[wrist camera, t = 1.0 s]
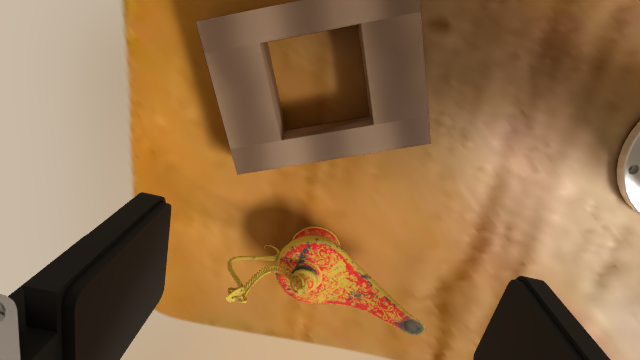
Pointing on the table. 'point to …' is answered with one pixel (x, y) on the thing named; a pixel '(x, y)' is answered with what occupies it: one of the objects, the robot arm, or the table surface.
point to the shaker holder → (262, 95)
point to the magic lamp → (326, 278)
